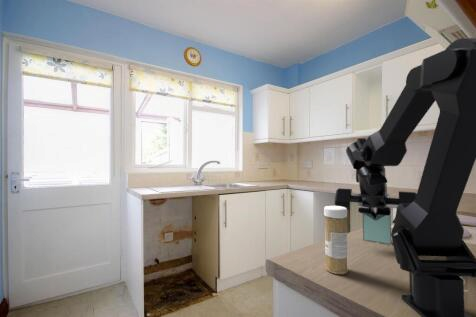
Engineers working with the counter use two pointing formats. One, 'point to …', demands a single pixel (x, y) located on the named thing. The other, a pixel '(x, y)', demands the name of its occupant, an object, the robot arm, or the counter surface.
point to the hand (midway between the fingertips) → (375, 218)
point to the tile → (377, 229)
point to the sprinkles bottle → (336, 239)
